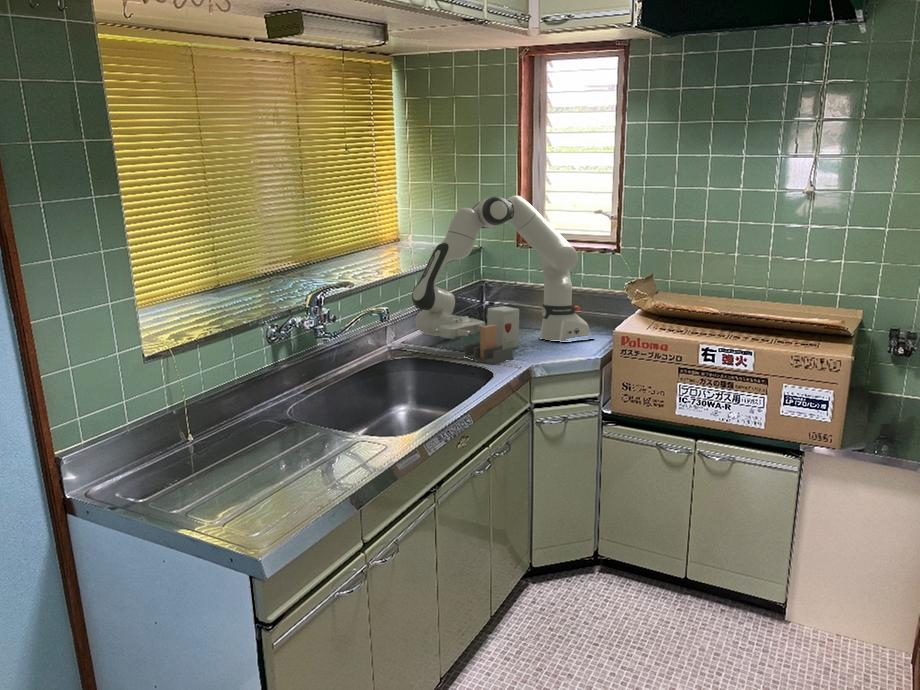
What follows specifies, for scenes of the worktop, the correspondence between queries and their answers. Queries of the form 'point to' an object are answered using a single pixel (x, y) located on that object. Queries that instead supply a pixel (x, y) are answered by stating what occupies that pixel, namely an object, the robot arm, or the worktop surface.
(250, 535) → the worktop surface
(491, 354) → the dish rack
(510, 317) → the supplement box
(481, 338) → the tile
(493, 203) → the robot arm
